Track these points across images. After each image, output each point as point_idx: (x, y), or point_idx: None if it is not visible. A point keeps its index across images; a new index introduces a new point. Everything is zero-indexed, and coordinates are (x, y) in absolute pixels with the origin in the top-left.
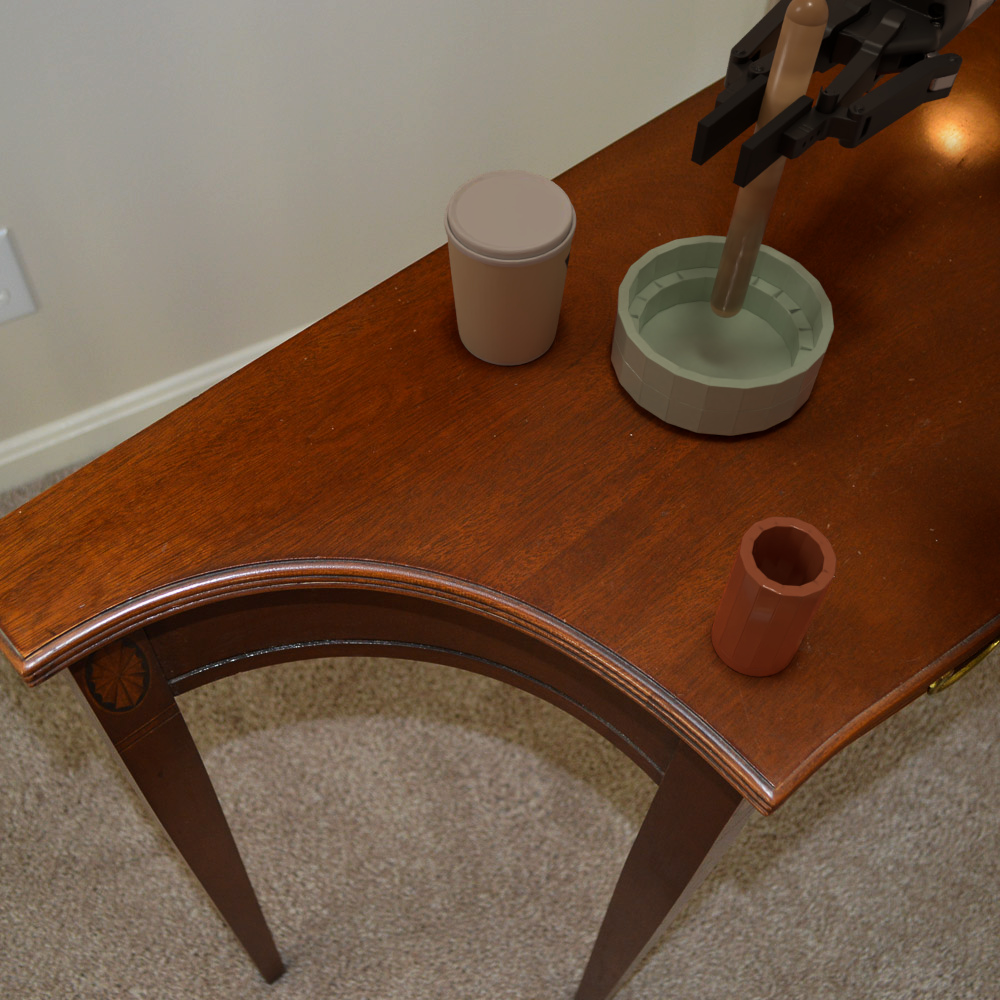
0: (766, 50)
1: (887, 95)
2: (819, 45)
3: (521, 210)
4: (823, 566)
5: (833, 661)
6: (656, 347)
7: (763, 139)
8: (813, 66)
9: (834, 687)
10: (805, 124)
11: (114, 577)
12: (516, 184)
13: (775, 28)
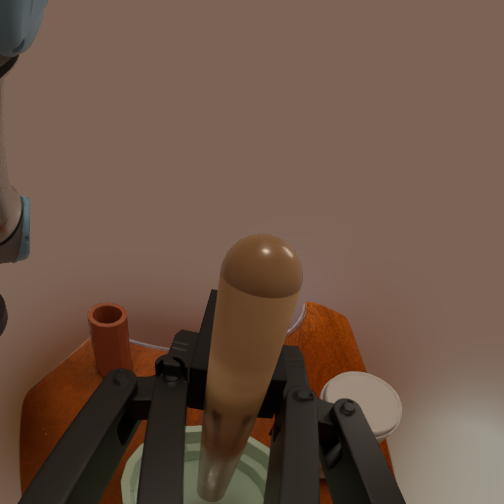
0: (344, 486)
1: (83, 420)
2: (215, 310)
3: (362, 404)
4: (92, 313)
5: (83, 368)
6: (244, 491)
7: (210, 300)
8: (211, 343)
9: (81, 359)
10: (182, 351)
11: (313, 316)
12: (385, 416)
13: (365, 490)
